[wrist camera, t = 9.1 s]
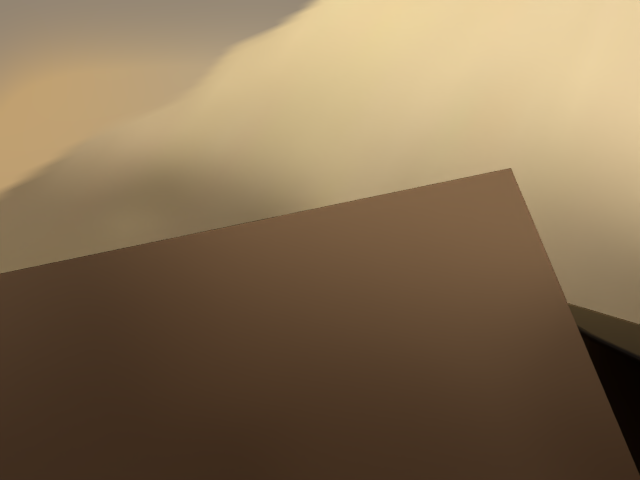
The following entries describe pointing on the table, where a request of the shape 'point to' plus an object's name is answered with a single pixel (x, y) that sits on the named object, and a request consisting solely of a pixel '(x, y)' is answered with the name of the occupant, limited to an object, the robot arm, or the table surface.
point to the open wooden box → (310, 352)
